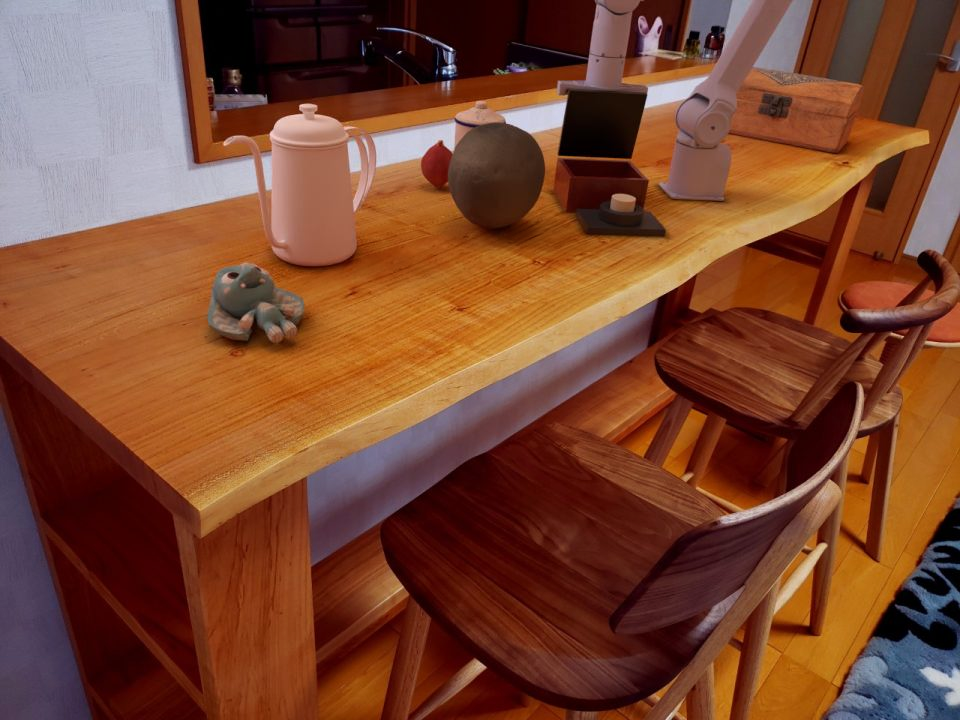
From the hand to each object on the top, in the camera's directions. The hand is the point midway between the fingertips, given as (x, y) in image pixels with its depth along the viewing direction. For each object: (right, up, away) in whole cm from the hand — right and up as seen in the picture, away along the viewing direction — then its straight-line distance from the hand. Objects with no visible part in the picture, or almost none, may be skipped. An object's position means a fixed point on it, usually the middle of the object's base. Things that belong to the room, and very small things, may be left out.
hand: (594, 141), depth 125 cm
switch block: (+2, -16, -10) cm, 19 cm away
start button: (+2, -14, -11) cm, 18 cm away
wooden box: (+50, +16, +51) cm, 73 cm away
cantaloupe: (-17, -17, -15) cm, 29 cm away
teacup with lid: (-19, -1, +12) cm, 22 cm away
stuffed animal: (-43, -33, -45) cm, 70 cm away
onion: (-26, -8, 0) cm, 27 cm away
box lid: (+1, +1, -4) cm, 4 cm away
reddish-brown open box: (0, -11, -1) cm, 11 cm away
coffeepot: (-41, -23, -27) cm, 54 cm away
